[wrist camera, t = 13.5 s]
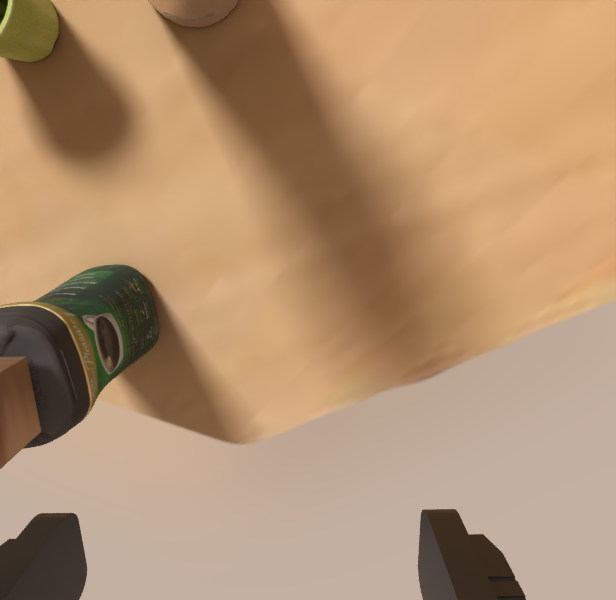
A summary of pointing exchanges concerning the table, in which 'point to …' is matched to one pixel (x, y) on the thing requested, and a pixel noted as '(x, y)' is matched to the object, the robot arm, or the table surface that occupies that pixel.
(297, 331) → the table surface
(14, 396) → the walnut block
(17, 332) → the coffee jar
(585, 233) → the table surface
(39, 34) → the plant pot
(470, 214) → the table surface
